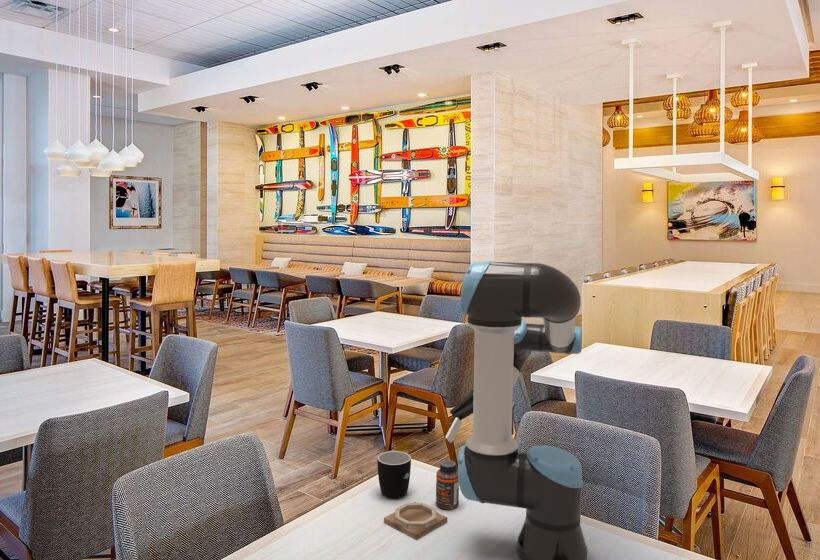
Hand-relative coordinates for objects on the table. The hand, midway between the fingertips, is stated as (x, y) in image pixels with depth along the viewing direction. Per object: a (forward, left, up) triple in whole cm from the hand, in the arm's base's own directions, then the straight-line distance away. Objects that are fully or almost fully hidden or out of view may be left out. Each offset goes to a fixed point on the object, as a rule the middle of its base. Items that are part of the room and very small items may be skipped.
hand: (467, 447), depth 156 cm
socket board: (0, +21, -13) cm, 24 cm away
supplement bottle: (0, +9, -13) cm, 16 cm away
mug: (+15, +13, -13) cm, 23 cm away
